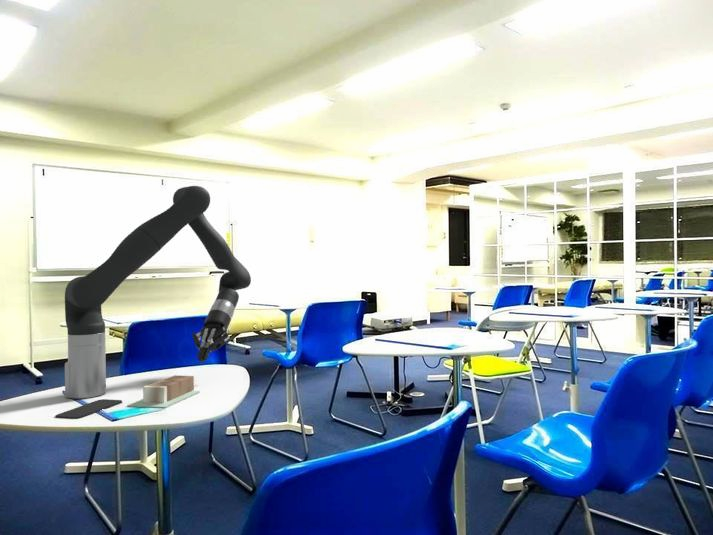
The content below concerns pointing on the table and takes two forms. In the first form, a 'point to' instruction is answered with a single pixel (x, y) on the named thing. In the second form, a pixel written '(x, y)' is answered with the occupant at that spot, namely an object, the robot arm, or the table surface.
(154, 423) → the table surface
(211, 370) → the table surface
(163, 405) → the green mat
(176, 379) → the walnut block
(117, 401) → the phone
